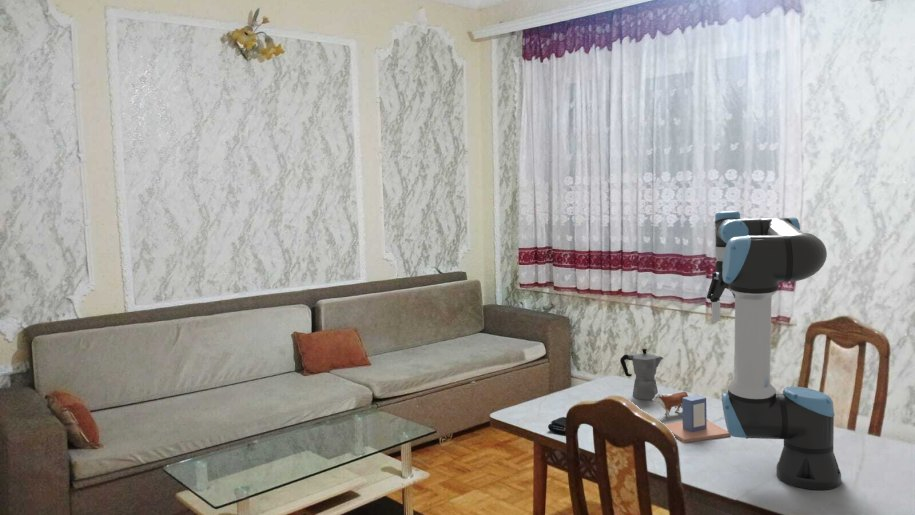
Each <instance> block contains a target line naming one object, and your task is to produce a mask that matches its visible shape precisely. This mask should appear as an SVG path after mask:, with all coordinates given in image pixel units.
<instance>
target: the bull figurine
mask: <svg viewBox="0 0 915 515" xmlns="http://www.w3.org/2000/svg"><path fill="white" fill-rule="evenodd" d="M688 396H689V395H688V393H687V392H686V391H680V392H676V393H662V394H661V393H660V392H658V393H657V394H656V395H655V397H654V398H653V399H652V400H651V401H652V402H653V403H655V402H656V403H657V404H659V405H660V407H662V408H663V409H664V410H665V413H664V415H665V418H667V417H670V413H671V410H672V408H673V407H674V408H675V410H674V413H678V412H680V408H681V409H682V398H683V397H688Z"/></svg>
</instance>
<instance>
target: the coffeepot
mask: <svg viewBox="0 0 915 515" xmlns="http://www.w3.org/2000/svg"><path fill="white" fill-rule="evenodd" d="M641 351H642V352H641V353H636V354H624V355H622V357H620V360H619V361H620V362H619V363H620V364H621V367H622V370H623V372H624V375H625V376H626V377H629V378H630V377H632V375H633V374H632V373H629V370H628V366H627V362H626V360H627V361H631V362H632V366H633V371H634V372H633V373H634V374H635V379H634V384H633V392H632V396H633V397H634V398H635V399H638V400H642V401H644V400H645V401H650V400H651V401H652V399H653V398H654V397H655V395H656V394H657V393H659V391H658V385H657V381H656V378H655V377H656V374H657V368H658V367H659V365H660V363H661V361H662V360H664V357H663V356H661V355H656V354H652V353H647V351H648V349H647V348H642V350H641Z"/></svg>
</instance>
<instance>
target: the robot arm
mask: <svg viewBox="0 0 915 515" xmlns="http://www.w3.org/2000/svg"><path fill="white" fill-rule="evenodd" d="M714 216H715V219H714V229H715V230H714V231H715V233H714V234H715V236H714V237H715V250H714V251H715V254H714V255H715V256H714V257H715V259H716V260H715V271H716V272H711V274H712V275H711V282H710V285H709V288H708V292H707V294H706V299H707V300H709V301H710V304H711V322H712V323H717V322H721V299H720V298H721V297H722V295H723V293H724V292H725V290H726V289H727V290H729V292H731V293H732V295H733V298H734V358H733V359H734V364H733V365H734V366H733V367H734V368H733V369H734V371H733V372H734V373H733V374H734V376H733V377H734V379H733V380H732V381H731V382H730V383H729V384H728V385H727V391H725V392H722V393H721V404H722V411H723V416H724V421H725V426H726V430H727V431H728V432H729V434H730V435H731V436H730V437H734V438H743V439H746V440H748V439H759V440H760V439H763V440H764V439H765V440H767V439H769V440H783V447H782V451H781V452H780V453H781V454H780V457H779V460H778V462H777V463H776V468H775V469H776V472H775V473H776V476H777V478H778V479H779V480H781V481H782V482H784V483H785V484H788V485H790V486H794V487H797V488H800V489H801V488H802V489H807V490H816V491H819V490H820V491H821V490H823V491H825V490H831V489H835V488H838V487H839V486H841V484H842V473H841V470H840V467H839V464H838V461H837V457H836V455H835V453H834V441H835V440H834V439H835V438H834V432H835V430H834V427H835V426H834V425H835V423H834V421H835V420H834V419H835V418H834V417H835V410H834V402H833V399H832V398H831V397H830V396H829V395H828V394H826V393H824V392H822V391H819V390H816V389H812V388H809V387H808V388H807V387H803V386H790V387H789V386H786V387H784V388H783V390H782V393H777V388H775V386H774V385H772V384H771V381H770V380H771V342H772V341H771V339H772V336H771V334H772V332H771V331H772V298H773V297H772V296H773V295H775V294H776V293H777V292H779V283H785V282H786V283H788V282H799V281H803V280H806V279H809V278H811V277H812V276H814V275H815V274H817V273H818V272H819V271H820V270H821V269H822V268H823V266H824V265H825V264H826V261H827V257H828V256H827V254H828V252H827V247H826V244H825V243H824V242H823V241H822V240H821V239H820V238H819V237H817V236H816V235H814V234H812V233H807V232H803V231H802V230H801V225H800V222H799V219H798V218H796V217H787V216H782V217H770V218H769V217H767V218H766V217H765V218H741V213H740V212H739V211H736V210H727V211H716V213H715V215H714Z"/></svg>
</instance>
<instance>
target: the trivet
mask: <svg viewBox="0 0 915 515" xmlns="http://www.w3.org/2000/svg"><path fill="white" fill-rule="evenodd" d="M665 425H666V426H667V427H668V428H669V429H670V430H671V431H672V433H673V434H674V436H675V437H674V436H673V437H674V438H676V437H677V438H678V440H679V439H680V440H679V441H680V442H682V443H684V444H685V443H690V442H692V443H693V442H699V441H705V440H712V439H718V438H720V439H721V438H726V437H732V436H731V435H730V434H729V432H728V430H727V429H724V428H722V427H721V426H719V425H717V424H716V423H713V422H711V421H710V420H708V419H707V429H704V430H700V431H695V432H690V431H687V430H685V429H683V421H678V422H672V423H671V422H670V423H665ZM677 438H676V439H677Z"/></svg>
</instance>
